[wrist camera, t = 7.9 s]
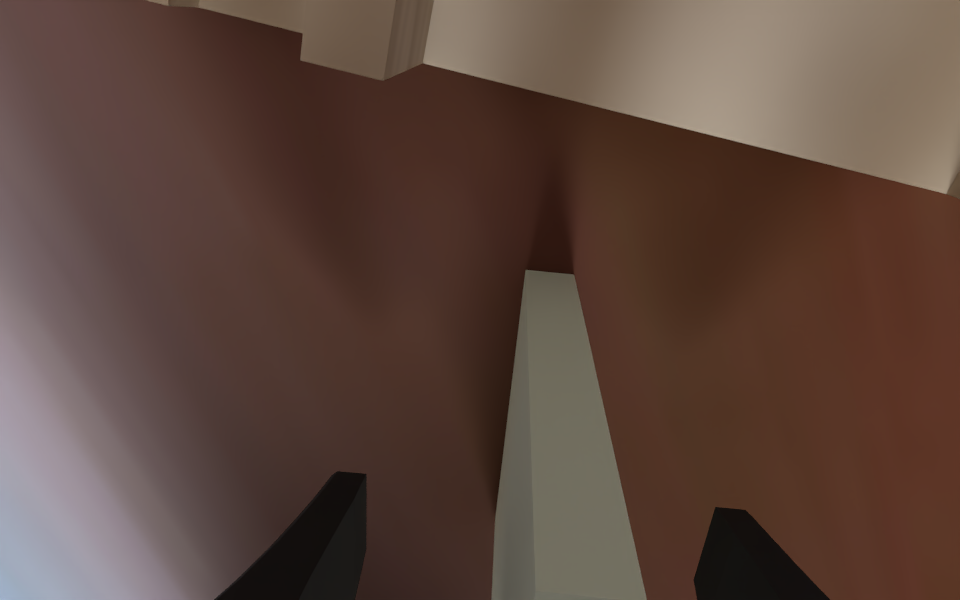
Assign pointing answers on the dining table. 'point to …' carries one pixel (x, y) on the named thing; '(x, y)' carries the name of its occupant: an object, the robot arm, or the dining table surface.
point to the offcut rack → (683, 65)
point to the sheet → (559, 464)
